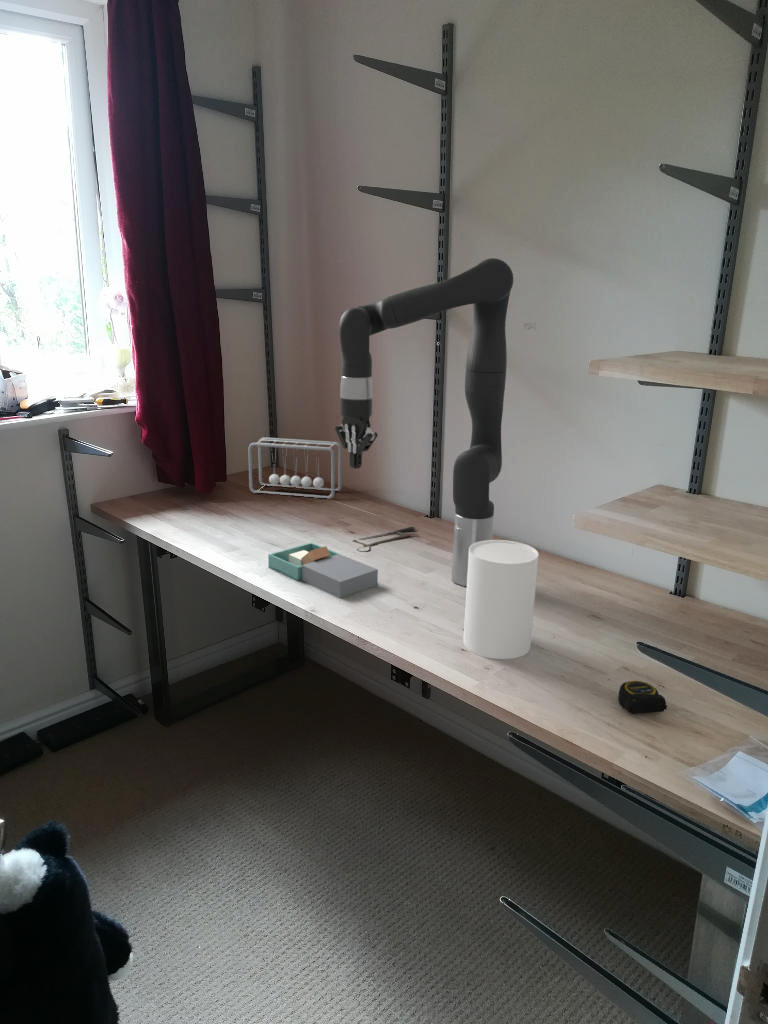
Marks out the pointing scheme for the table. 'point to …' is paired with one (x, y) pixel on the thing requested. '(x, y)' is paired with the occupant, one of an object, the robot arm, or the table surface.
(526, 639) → the canister
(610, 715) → the table surface
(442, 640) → the table surface
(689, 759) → the table surface
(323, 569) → the grey flat block
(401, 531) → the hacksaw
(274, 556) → the box
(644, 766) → the table surface
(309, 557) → the terracotta tile
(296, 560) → the cream tile
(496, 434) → the robot arm
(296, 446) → the newton's cradle
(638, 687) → the tape measure
